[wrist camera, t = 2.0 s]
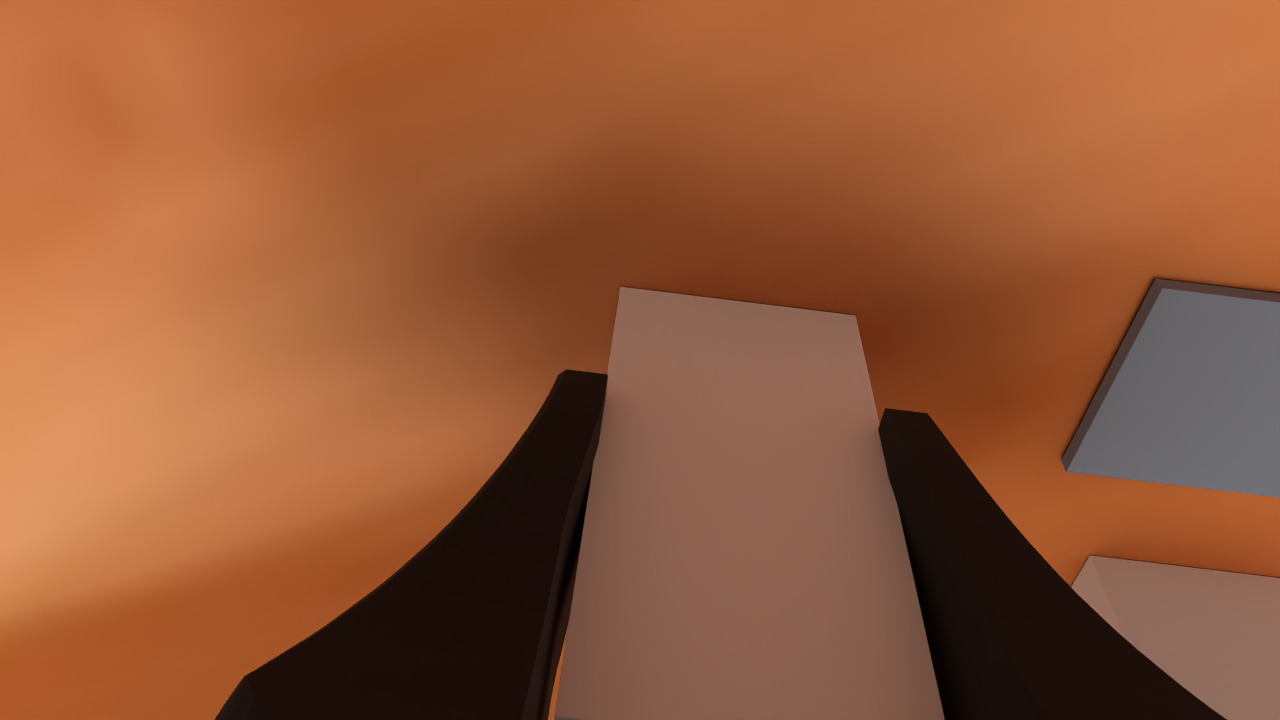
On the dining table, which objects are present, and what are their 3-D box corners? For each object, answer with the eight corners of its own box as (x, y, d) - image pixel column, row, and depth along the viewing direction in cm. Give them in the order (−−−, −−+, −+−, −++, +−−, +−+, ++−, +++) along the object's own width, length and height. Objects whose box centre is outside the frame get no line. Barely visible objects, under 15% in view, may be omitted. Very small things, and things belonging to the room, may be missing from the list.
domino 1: (613, 344, 16) (549, 779, 10) (620, 286, 16) (555, 716, 9) (838, 371, 16) (919, 822, 10) (855, 315, 16) (954, 762, 9)
